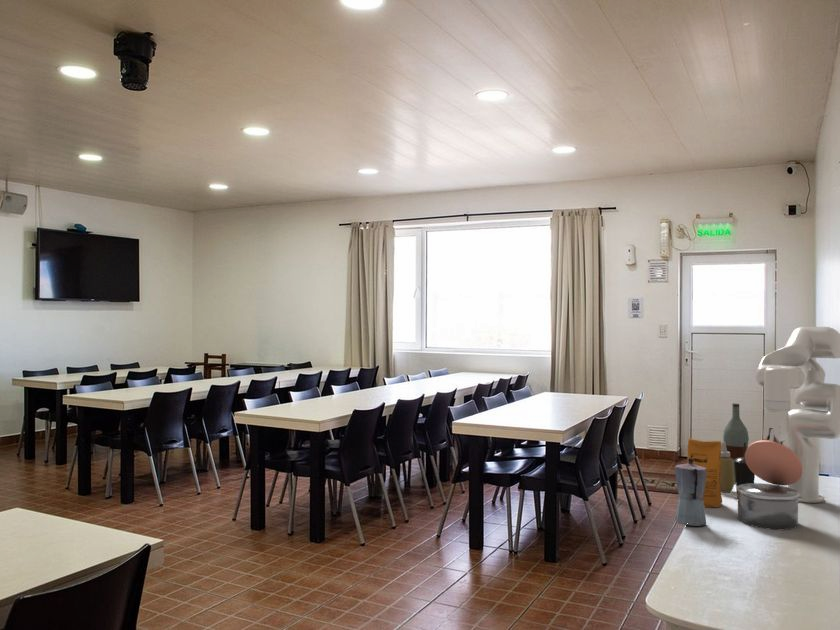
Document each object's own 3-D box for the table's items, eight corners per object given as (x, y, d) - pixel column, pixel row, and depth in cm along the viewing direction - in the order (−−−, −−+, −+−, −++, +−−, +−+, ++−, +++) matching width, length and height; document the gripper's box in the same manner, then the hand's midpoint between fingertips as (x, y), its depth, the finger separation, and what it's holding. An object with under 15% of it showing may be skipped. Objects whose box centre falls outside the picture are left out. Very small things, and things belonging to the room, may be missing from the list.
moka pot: (700, 517, 229) (700, 454, 229) (715, 531, 213) (715, 464, 213) (669, 516, 230) (669, 454, 230) (682, 530, 214) (682, 464, 214)
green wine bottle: (754, 482, 277) (754, 404, 277) (734, 483, 275) (734, 405, 275) (737, 476, 286) (737, 402, 286) (717, 478, 284) (717, 402, 284)
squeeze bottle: (738, 493, 259) (739, 444, 259) (716, 493, 259) (716, 443, 259) (729, 488, 267) (729, 440, 267) (707, 488, 267) (708, 440, 267)
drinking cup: (755, 503, 246) (755, 445, 246) (731, 500, 250) (731, 443, 250) (758, 498, 252) (758, 442, 252) (734, 495, 256) (734, 440, 256)
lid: (750, 480, 236) (752, 475, 238) (805, 489, 224) (808, 484, 226) (739, 439, 230) (742, 434, 232) (796, 446, 218) (799, 441, 220)
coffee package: (686, 497, 253) (686, 435, 253) (724, 502, 246) (724, 439, 246) (680, 504, 244) (681, 440, 244) (719, 509, 238) (720, 443, 238)
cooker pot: (749, 510, 237) (749, 480, 237) (807, 521, 224) (807, 489, 224) (727, 521, 224) (727, 489, 224) (787, 533, 212) (787, 499, 212)
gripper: (773, 402, 238) (773, 457, 238) (756, 406, 227) (756, 464, 227) (797, 404, 232) (797, 461, 233) (781, 409, 222) (781, 468, 222)
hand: (777, 462), depth 230 cm, fingers closed
